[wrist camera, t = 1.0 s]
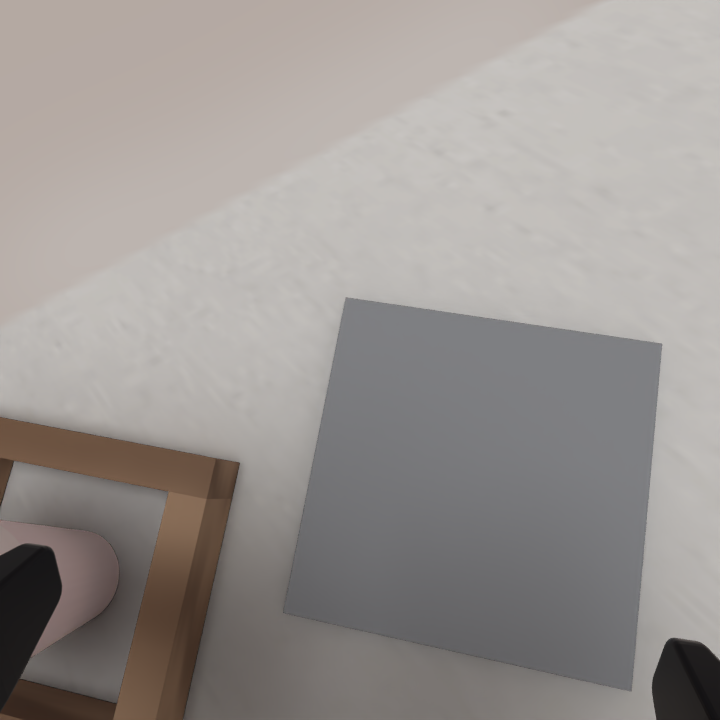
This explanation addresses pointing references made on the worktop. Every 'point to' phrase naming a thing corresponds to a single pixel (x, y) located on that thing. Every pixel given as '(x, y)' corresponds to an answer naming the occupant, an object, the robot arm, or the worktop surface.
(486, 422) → the slate mat
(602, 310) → the worktop surface
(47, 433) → the walnut holder
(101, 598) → the smoothie
